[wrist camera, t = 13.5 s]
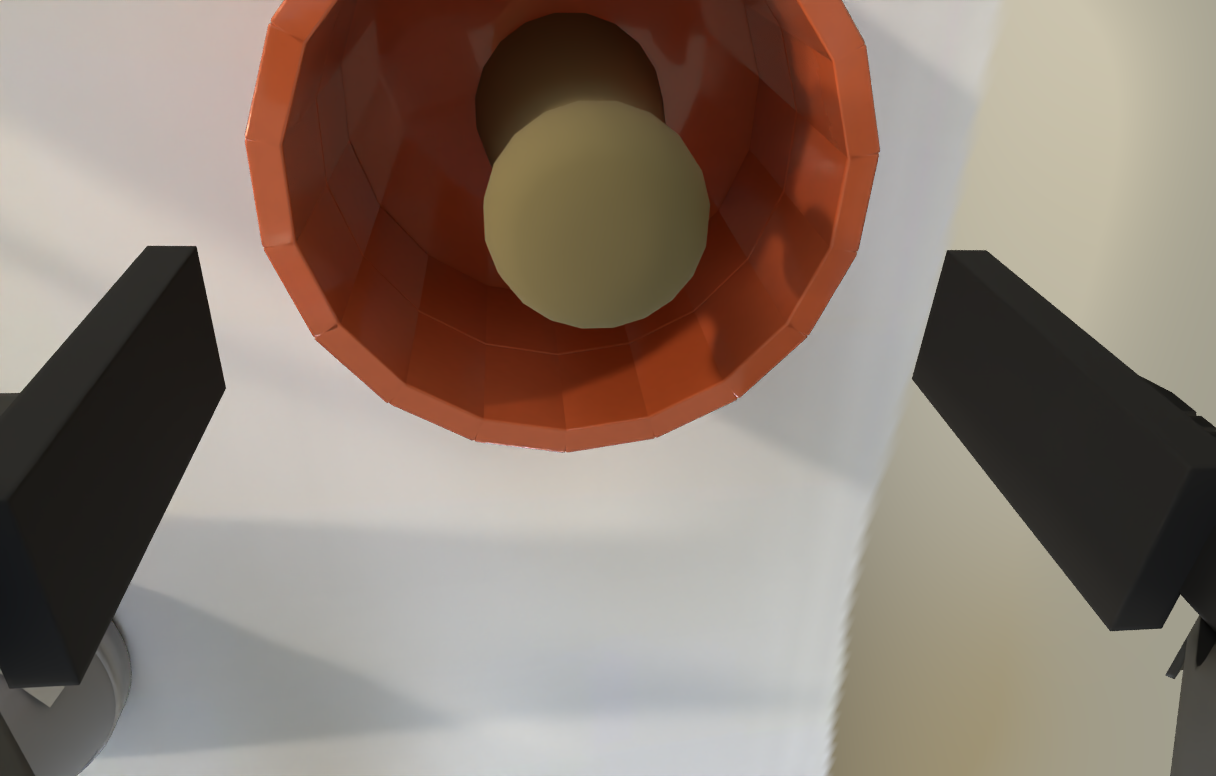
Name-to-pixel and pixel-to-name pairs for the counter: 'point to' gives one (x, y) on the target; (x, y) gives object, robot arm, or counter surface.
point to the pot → (457, 181)
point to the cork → (586, 175)
